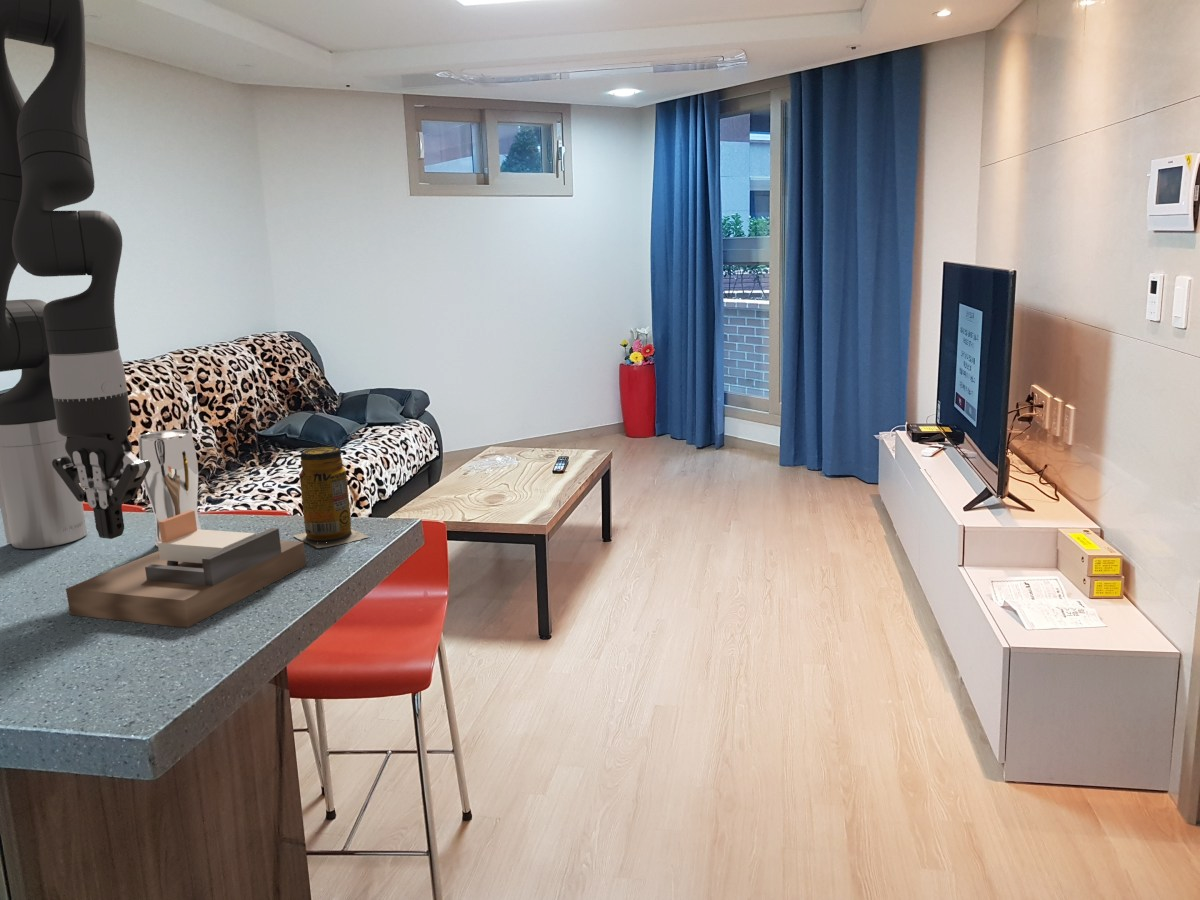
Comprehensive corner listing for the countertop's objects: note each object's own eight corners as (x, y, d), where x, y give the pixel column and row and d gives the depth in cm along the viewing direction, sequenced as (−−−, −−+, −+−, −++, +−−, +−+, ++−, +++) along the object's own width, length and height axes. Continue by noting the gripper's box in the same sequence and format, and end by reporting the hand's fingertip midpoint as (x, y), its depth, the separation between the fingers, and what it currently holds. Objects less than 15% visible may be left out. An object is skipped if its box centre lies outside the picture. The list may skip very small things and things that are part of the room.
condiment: (343, 525, 132) (334, 442, 130) (369, 538, 126) (361, 450, 123) (292, 537, 128) (282, 451, 125) (317, 550, 122) (307, 460, 119)
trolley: (161, 569, 107) (154, 522, 105) (196, 554, 112) (190, 509, 110) (225, 575, 104) (219, 526, 102) (258, 559, 109) (253, 513, 108)
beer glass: (218, 538, 129) (204, 431, 126) (172, 552, 123) (156, 440, 120) (187, 531, 133) (172, 427, 130) (141, 545, 127) (124, 437, 124)
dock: (70, 614, 102) (61, 562, 101) (201, 557, 121) (195, 512, 119) (188, 627, 97) (180, 572, 96) (306, 565, 116) (300, 518, 114)
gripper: (161, 387, 108) (179, 531, 112) (74, 384, 112) (94, 523, 116) (108, 398, 101) (129, 551, 105) (17, 394, 105) (41, 541, 109)
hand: (111, 536), depth 110 cm, fingers closed
